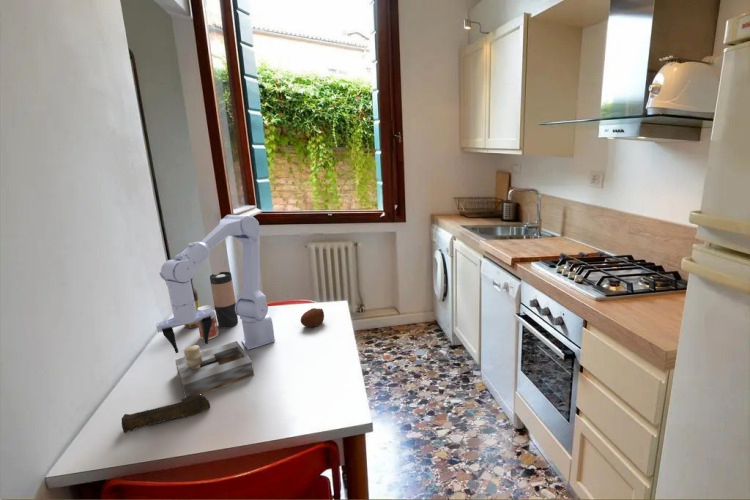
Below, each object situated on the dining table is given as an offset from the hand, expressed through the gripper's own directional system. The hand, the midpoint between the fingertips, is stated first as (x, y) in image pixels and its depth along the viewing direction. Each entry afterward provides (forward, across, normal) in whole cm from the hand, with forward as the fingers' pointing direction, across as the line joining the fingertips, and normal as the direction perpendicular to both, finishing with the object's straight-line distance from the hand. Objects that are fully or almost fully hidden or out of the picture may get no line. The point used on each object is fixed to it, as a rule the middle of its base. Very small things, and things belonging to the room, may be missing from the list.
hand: (191, 347), depth 107 cm
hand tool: (+11, +9, +14) cm, 20 cm away
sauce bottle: (+11, -6, -42) cm, 43 cm away
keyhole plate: (+10, -5, 0) cm, 11 cm away
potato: (+11, -42, -10) cm, 44 cm away
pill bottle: (+11, -9, -28) cm, 31 cm away
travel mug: (+11, -17, -34) cm, 39 cm away
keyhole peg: (+9, 0, 0) cm, 9 cm away
